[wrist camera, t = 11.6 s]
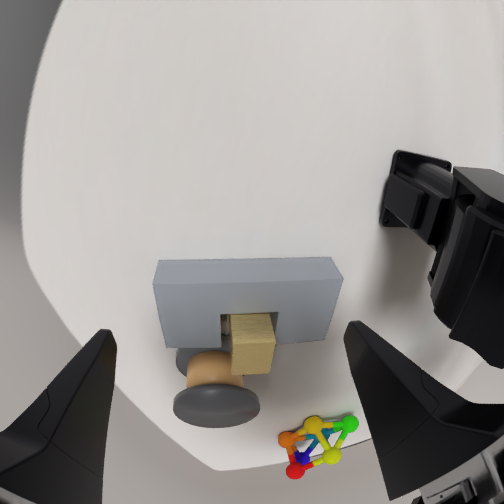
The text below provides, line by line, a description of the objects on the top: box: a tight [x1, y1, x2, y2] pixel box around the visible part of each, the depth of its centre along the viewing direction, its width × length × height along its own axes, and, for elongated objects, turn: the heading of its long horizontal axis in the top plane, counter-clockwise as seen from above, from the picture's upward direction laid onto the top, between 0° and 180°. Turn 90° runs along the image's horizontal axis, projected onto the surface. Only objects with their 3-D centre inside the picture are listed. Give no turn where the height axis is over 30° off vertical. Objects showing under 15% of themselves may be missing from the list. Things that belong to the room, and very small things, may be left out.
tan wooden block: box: [227, 312, 276, 375], centre depth 23 cm, size 3×4×6 cm
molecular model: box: [278, 415, 359, 479], centre depth 40 cm, size 11×10×15 cm
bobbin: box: [173, 334, 260, 428], centre depth 26 cm, size 8×8×7 cm
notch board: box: [153, 257, 344, 348], centre depth 23 cm, size 14×7×3 cm, turn 87°
